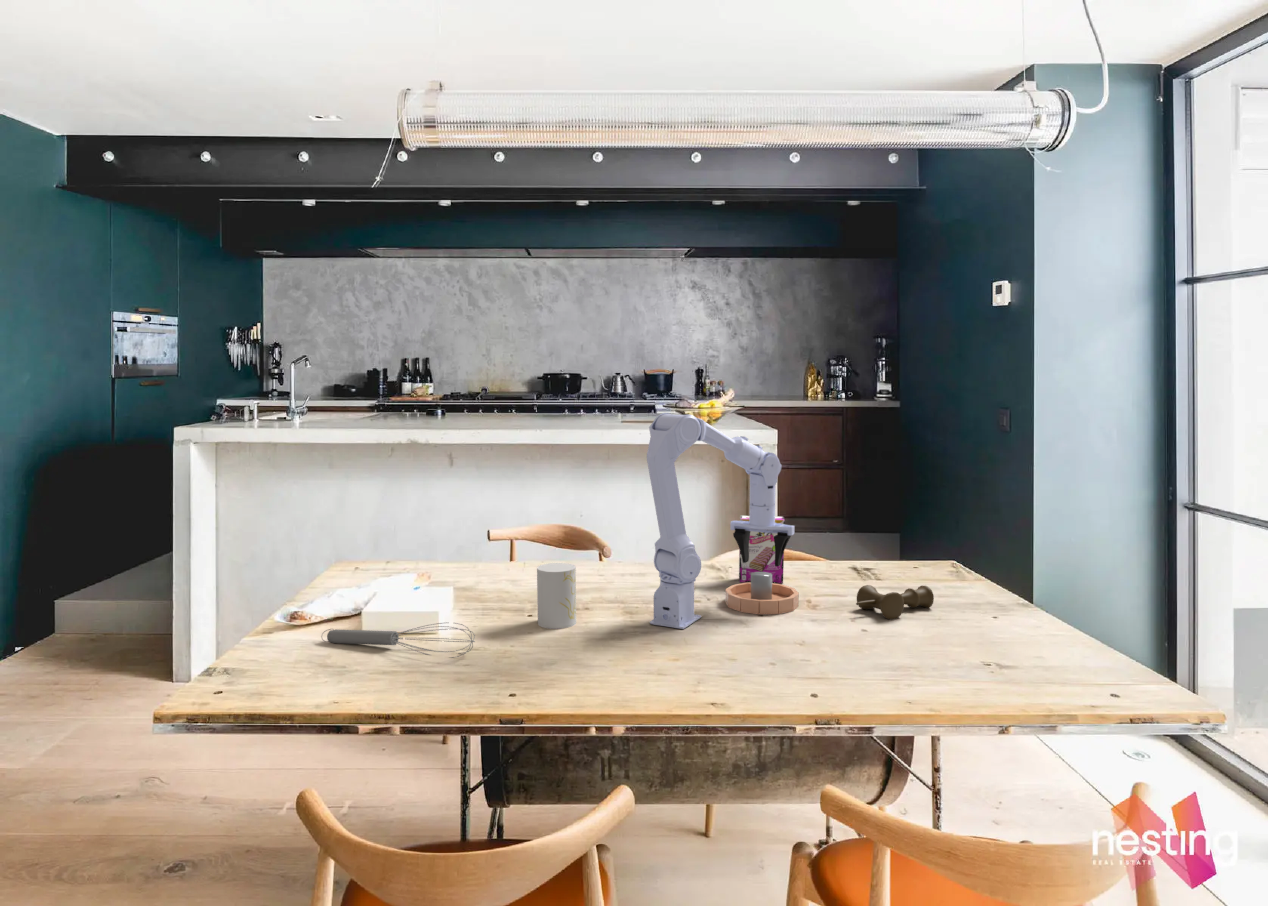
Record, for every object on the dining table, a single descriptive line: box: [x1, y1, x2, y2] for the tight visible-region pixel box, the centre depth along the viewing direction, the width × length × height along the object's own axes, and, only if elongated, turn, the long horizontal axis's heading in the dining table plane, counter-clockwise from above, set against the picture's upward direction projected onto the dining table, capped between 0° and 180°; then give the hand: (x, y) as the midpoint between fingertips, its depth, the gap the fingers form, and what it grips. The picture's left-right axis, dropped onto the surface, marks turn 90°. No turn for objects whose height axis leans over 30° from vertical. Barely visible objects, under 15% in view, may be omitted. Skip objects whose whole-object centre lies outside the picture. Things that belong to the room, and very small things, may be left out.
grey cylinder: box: [751, 572, 772, 600], centre depth 188 cm, size 5×5×6 cm
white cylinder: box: [536, 562, 577, 630], centre depth 175 cm, size 8×8×12 cm
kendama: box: [855, 584, 935, 620], centre depth 183 cm, size 6×10×20 cm
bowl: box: [724, 582, 800, 615], centre depth 189 cm, size 16×16×3 cm
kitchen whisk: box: [320, 621, 476, 659], centre depth 159 cm, size 6×34×6 cm, turn 72°
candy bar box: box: [738, 515, 786, 584], centre depth 209 cm, size 11×5×16 cm, turn 84°
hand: (761, 563), depth 188 cm, fingers open, 7 cm apart
